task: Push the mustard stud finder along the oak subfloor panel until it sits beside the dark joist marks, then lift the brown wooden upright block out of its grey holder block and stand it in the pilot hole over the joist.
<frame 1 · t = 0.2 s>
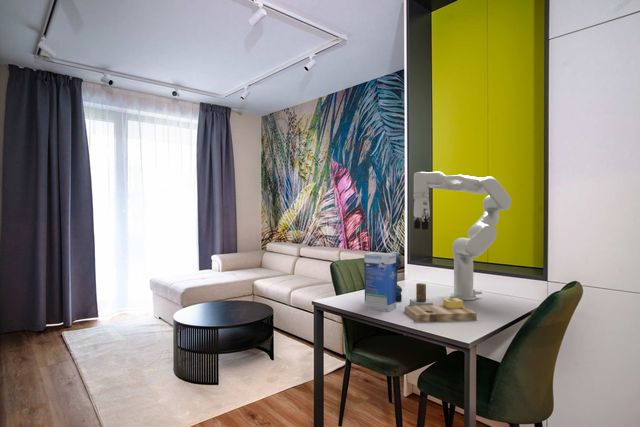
hand: (420, 229, 186), 36 cm above the table, tool pointing down, fingers open, 9 cm apart
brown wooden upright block: (421, 306, 170), resting in awl holder block
impact wrench: (393, 300, 185), on the table
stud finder: (453, 302, 160), point 5 cm above the table, slide at 0.0 cm
string lights box: (380, 309, 168), on the table
awl holder block: (421, 307, 170), on the table
subfloor panel: (439, 316, 155), on the table
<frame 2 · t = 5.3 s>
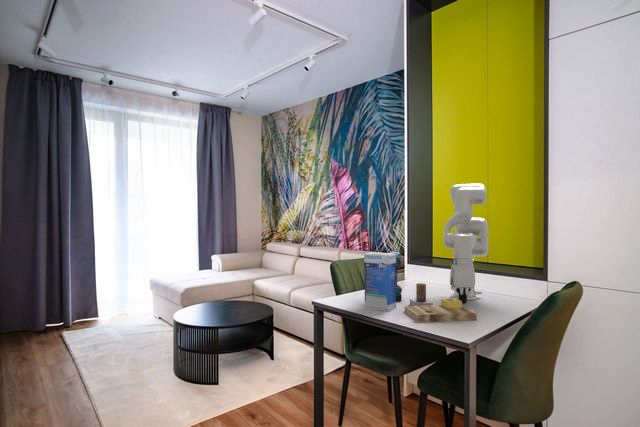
hand: (462, 302, 160), 5 cm above the table, tool pointing down, fingers closed
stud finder: (451, 303, 160), point 5 cm above the table, slide at 0.7 cm, touching gripper
everything else where it was.
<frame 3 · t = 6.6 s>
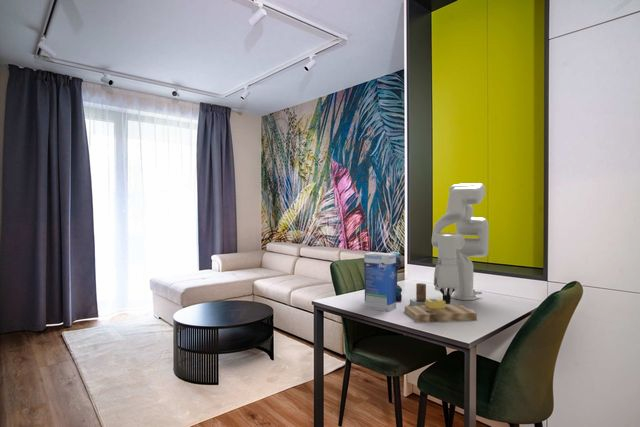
hand: (446, 303, 159), 5 cm above the table, tool pointing down, fingers closed
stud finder: (435, 303, 159), point 5 cm above the table, slide at 8.3 cm, touching gripper
everything else where it was.
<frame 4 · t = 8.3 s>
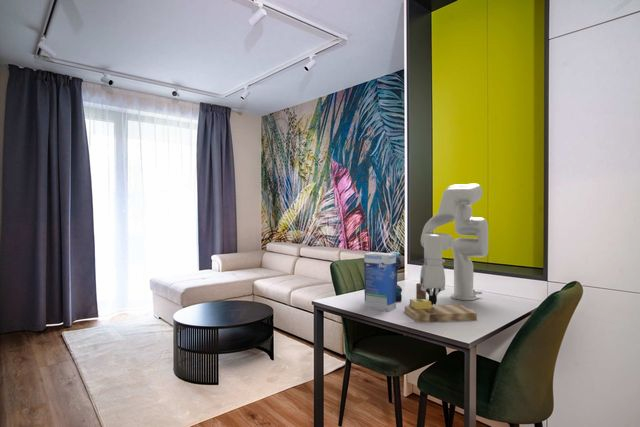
hand: (432, 303, 159), 5 cm above the table, tool pointing down, fingers closed
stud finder: (421, 303, 158), point 5 cm above the table, slide at 14.7 cm, touching gripper
everything else where it was.
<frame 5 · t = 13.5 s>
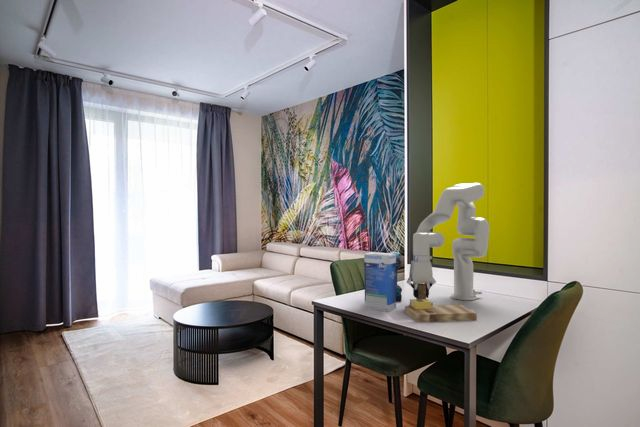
hand: (421, 296, 170), 5 cm above the table, tool pointing down, fingers closed on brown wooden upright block, 4 cm apart
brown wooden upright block: (421, 306, 170), point 1 cm above the table, touching awl holder block, gripper
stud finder: (421, 303, 158), point 5 cm above the table, slide at 14.8 cm
everything else where it was.
when the fingers open (6 cm above the table, at t = 19.3 s): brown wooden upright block stays where it is, resting on subfloor panel.
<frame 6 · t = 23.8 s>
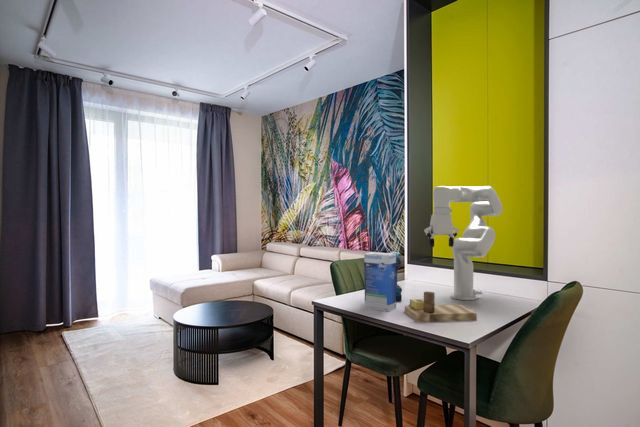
hand: (441, 246, 175), 28 cm above the table, tool pointing down, fingers open, 9 cm apart
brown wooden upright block: (429, 317, 152), resting on subfloor panel
everything else where it was.
at the end: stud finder slide at 14.8 cm; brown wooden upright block 0.1 cm from the target spot on the subfloor panel, point 0.5 cm above the subfloor panel's base; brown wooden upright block tilted 0° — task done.
